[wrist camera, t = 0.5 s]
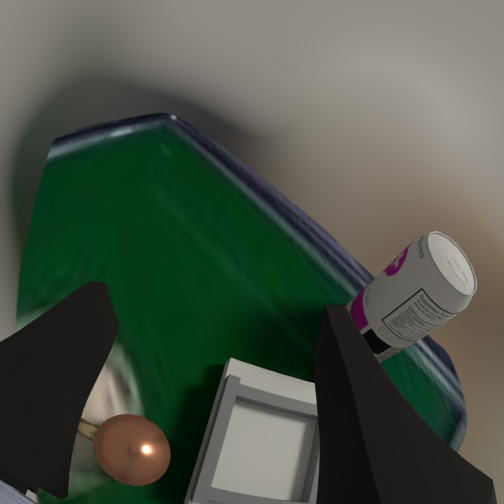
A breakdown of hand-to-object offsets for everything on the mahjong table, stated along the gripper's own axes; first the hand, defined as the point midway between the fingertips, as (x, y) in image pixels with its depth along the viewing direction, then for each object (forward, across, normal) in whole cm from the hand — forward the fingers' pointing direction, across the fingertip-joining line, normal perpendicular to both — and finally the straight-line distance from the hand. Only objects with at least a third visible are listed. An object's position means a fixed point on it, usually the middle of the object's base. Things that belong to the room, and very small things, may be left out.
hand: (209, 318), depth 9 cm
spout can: (0, +8, +17) cm, 19 cm away
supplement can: (+18, -14, +19) cm, 29 cm away
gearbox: (+5, -4, +20) cm, 21 cm away
